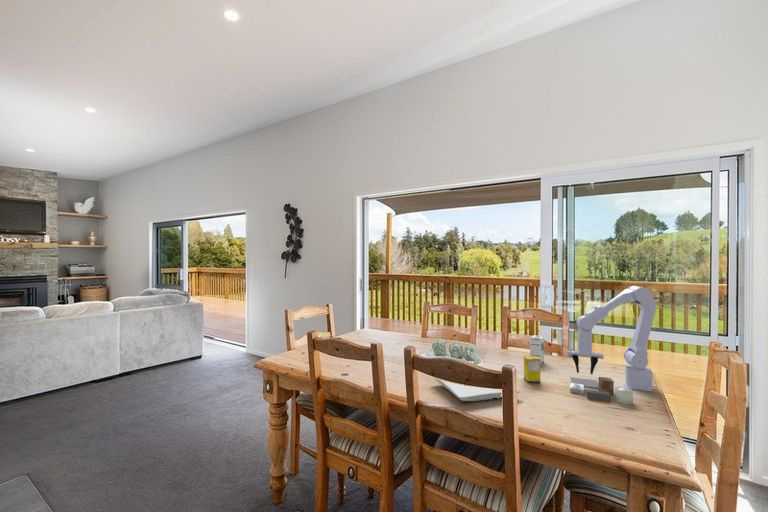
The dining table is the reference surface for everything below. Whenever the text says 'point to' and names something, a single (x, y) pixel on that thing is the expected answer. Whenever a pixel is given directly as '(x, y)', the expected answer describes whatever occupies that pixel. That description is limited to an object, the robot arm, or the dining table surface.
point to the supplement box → (532, 369)
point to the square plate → (470, 392)
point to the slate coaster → (585, 382)
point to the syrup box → (537, 347)
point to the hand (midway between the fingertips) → (584, 372)
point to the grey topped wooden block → (577, 388)
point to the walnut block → (606, 385)
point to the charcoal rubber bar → (598, 395)
